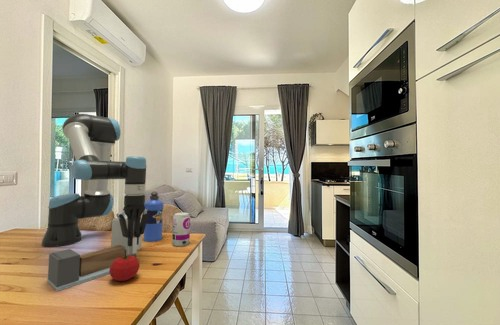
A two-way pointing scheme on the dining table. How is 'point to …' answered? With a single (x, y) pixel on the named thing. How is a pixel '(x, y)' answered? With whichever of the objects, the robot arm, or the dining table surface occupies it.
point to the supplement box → (118, 237)
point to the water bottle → (153, 219)
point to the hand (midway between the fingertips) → (132, 253)
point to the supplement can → (181, 229)
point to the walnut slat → (99, 259)
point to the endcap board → (69, 270)
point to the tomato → (124, 268)
